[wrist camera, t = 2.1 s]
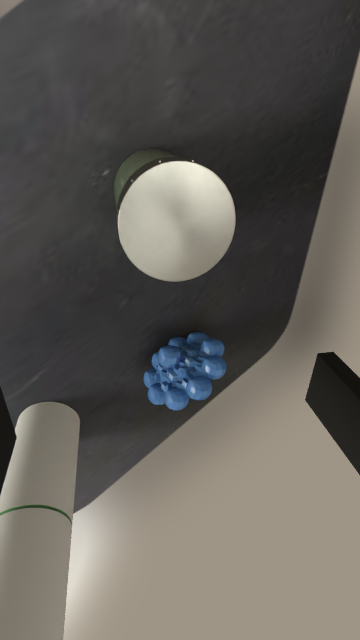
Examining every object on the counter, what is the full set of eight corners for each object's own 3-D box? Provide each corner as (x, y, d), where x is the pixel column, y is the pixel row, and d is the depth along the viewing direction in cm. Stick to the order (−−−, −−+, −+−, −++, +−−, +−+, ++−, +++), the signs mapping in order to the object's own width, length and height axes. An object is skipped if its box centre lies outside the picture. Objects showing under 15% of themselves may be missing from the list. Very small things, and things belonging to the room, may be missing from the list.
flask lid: (93, 198, 25) (92, 207, 22) (192, 132, 24) (202, 132, 21) (154, 285, 29) (159, 301, 26) (239, 232, 28) (253, 243, 25)
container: (63, 450, 52) (24, 762, 26) (7, 434, 48) (-101, 779, 23) (90, 413, 49) (76, 719, 24) (33, 393, 46) (-55, 731, 20)
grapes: (189, 294, 43) (215, 347, 33) (217, 327, 46) (250, 384, 36) (121, 348, 45) (126, 414, 35) (153, 375, 48) (166, 442, 38)
